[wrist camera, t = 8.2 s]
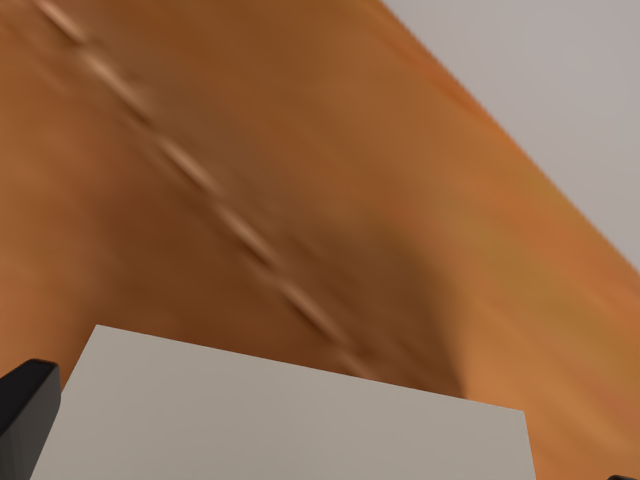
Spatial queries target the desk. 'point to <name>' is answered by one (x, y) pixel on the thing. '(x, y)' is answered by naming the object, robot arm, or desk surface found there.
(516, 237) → the desk surface
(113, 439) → the flap
